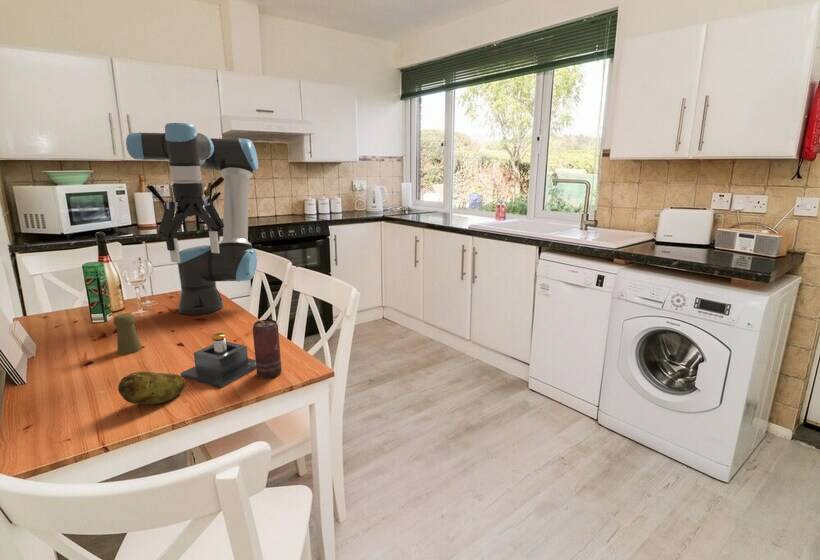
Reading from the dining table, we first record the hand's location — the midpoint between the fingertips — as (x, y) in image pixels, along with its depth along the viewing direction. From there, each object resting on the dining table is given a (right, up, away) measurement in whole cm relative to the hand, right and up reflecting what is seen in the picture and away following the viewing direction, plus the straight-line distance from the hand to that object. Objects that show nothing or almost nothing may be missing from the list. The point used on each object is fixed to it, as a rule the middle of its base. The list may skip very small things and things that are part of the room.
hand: (196, 257), depth 128 cm
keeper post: (+13, -30, -12) cm, 35 cm away
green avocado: (+4, -35, -27) cm, 44 cm away
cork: (-20, -27, +1) cm, 34 cm away
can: (+25, -31, -13) cm, 42 cm away
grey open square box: (+13, -29, -12) cm, 34 cm away
